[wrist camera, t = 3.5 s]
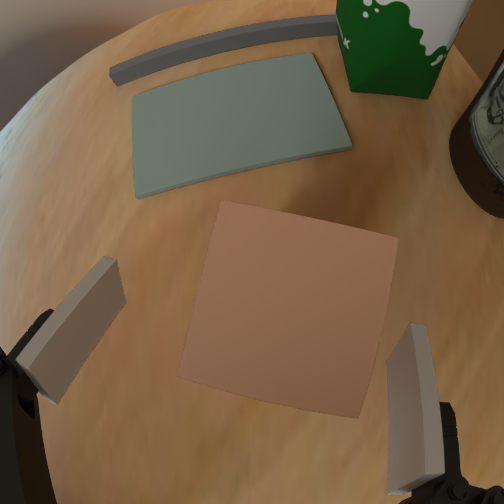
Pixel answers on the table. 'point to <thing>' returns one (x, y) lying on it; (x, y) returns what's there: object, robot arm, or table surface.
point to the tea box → (289, 309)
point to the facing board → (233, 123)
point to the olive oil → (483, 144)
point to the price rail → (222, 44)
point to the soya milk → (397, 43)
